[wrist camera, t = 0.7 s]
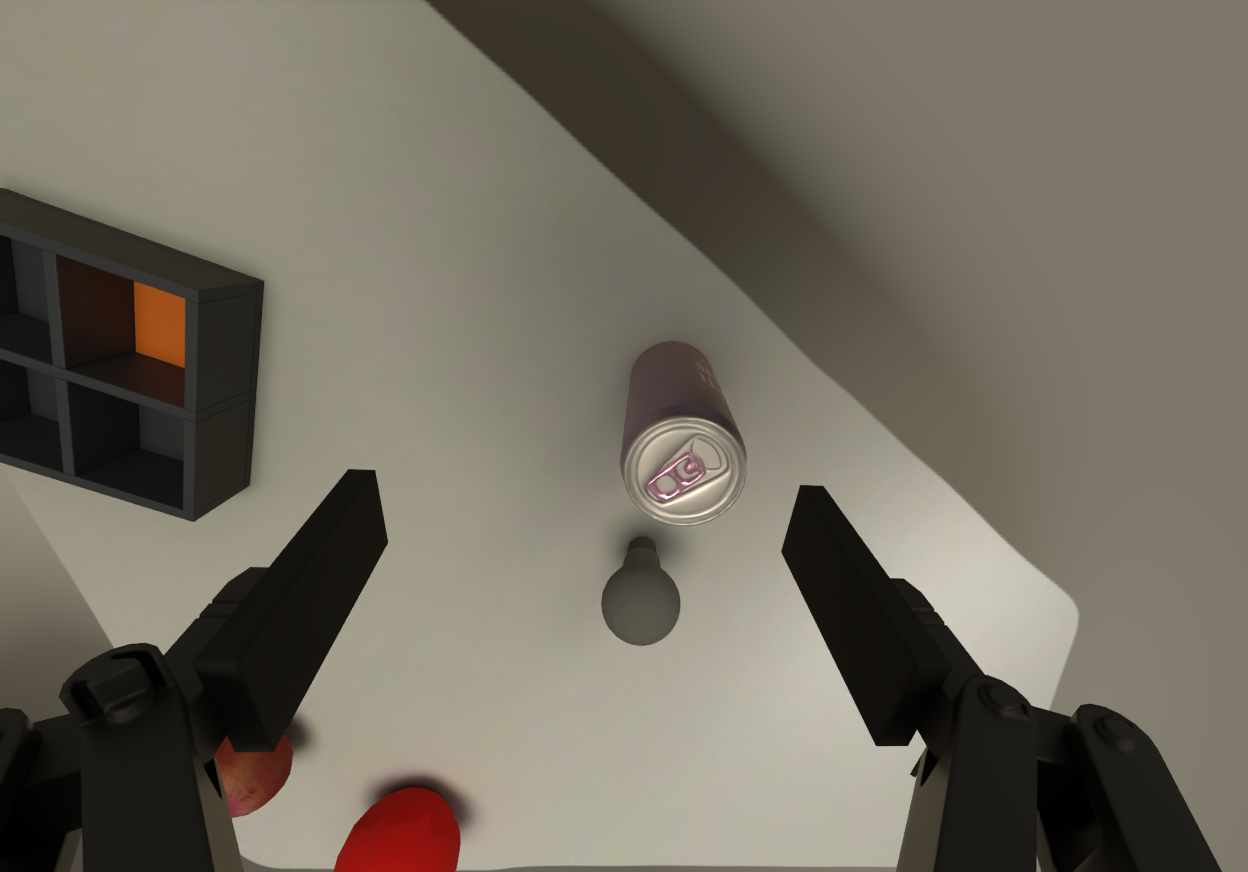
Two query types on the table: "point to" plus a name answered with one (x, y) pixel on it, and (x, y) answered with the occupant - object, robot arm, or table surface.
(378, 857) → the tomato
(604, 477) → the table surface
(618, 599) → the light bulb
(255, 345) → the tray
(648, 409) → the beverage can
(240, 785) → the fruit
